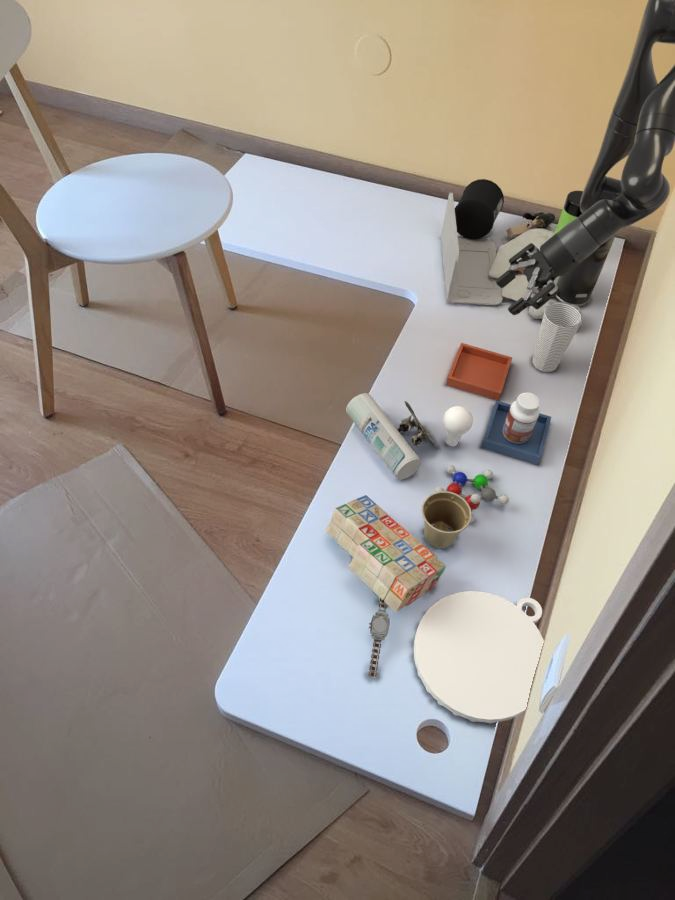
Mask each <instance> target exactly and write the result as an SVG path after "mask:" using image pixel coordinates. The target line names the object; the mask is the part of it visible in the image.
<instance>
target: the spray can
mask: <svg viewBox="0 0 675 900" xmlns="http://www.w3.org/2000/svg"><path fill="white" fill-rule="evenodd" d="M345 411H346V414H347V416H349V418H350V419H351V420H352V422H353V423H354V425H355V426H356V427H357V428H358V430H359V431H360V432H361V434H362V435H363V437H365V439H366V440H367V442H368V443H369V444H370V446H371V447H372V448H373V449H374V452H376V454H377V455H378V456H379V457H380V458H381V460H382V461H383V463H384V464H385V465H386V466H387V468H388V469H389V470H390V472H391V473H392V475H393V476H394V477H395V478H396V479H397V480H401V481H402V480H405V479H408V478H410V477H411V476H412V475H414V474H415V473H416V472H417V471H418V470H419V469H420V467H421V465H422V460H421V458H420V457H419V456H418V454H417V453H416V452H415V451H414V449H413V448H412V447H411V445H410V444H409V442H407V440H406V439H405V438H404V436H403V435H402V433H401V432H400V433H399V431H398V430H397V429H398V428H397V427H396V426H395V425H394V424H393V422H392V421H391V419H390V418H389V417H388V416H387V414H386V413H385V412H384V410H383V409H382V408H381V407H380V406H379V404H378V403H377V401H376V400H375V399H374V398H373V396H372V395H371V394H370V393H367V392H363V393H359V394H358V395H356V396H354V397H353V398H352V399H351V400H350V401H348V404H347V405H346V408H345Z"/></svg>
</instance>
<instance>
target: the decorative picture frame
mask: <svg viewBox="0 0 675 900" xmlns="http://www.w3.org/2000/svg"><path fill="white" fill-rule="evenodd" d="M404 405H405V406H406V408H407V410H408V411H409V413H410V414H411V415H410V416H409V417H407V418H404V419H401V420H400V421H401V423H400V424H399V426H398V428H396V429H397V430H398V431H399V433H400V434H401V433H407V432H409V430H412V429H414V428H417V433H418V434H417V435H412V438H411V442H412V443H413V445H414V446H415V448H419V445H420V444H422V443H423V441H424V440H426V437H427V438H428V439H429V440H430V441H431V442H432V443H433V445H434V447H436V449H438V450H439V448H438V447H437V446H436V444H435V441H434V439H433V438H432V436H431V435H430V434H429V433H428V431H427V430H426V429H425V427H424V426H423V425H422V423H421V422H420V420H419V419H418V417H417V416H416V414H415V411H414V409H413V407H412V406H411V404H410V403H409V402H408V401H407V400H404ZM412 417H413V418H412Z"/></svg>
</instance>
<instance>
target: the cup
mask: <svg viewBox="0 0 675 900" xmlns="http://www.w3.org/2000/svg"><path fill="white" fill-rule="evenodd" d="M558 302H559V301H558ZM582 319H583V314H582V315H581V313H580V311H579V310H578V309H576V308H575V307H574V306H572V305H570V304H567V303H561V302H559V303H552V304H550V305H548V306H547V307H546V308H545V311H544V315H543V319H541V324H540V328H539V332H538V336H537V340H536V344H535V347H534V352H533V355H532V365H533V367H534V368H536V370H538V371H540V372H544V373H551V372H554V371H556V369H557V368H558V366H559V364H560V362H561V361H562V359H563V357H564V355H565V353H566V352H567V351H568V348H569V346H570V344H571V342H572V341H573V339H574V337H575V335H576V333H577V332H578V330H579V328H580V327H581V326H580V324H581V322H582V323H583V320H582ZM581 325H582V324H581ZM579 326H580V327H579ZM578 327H579V328H578Z"/></svg>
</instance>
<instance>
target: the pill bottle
mask: <svg viewBox="0 0 675 900" xmlns="http://www.w3.org/2000/svg"><path fill="white" fill-rule="evenodd" d="M540 404H541V401H540V398H539V397H538V396H537V395H536V394H534V393H532V392H522V393H520V394H519V395H518V396H517V398H516V400H515V401H513V402H512V403H511V404H510V405H511V407H510V410H509V412H508V415H507V418H506V421H505V424H504V426H503V435H504V437H505V438H506V439H507V440H508V441H510V442H512V443H516V444H521V443H525V442H526V441H528V440H529V438H530V436H531V434H532V431H533V429H534V426H535V424H536V421H537V419H538V417H539V413H540V409H539V408H540Z"/></svg>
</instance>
